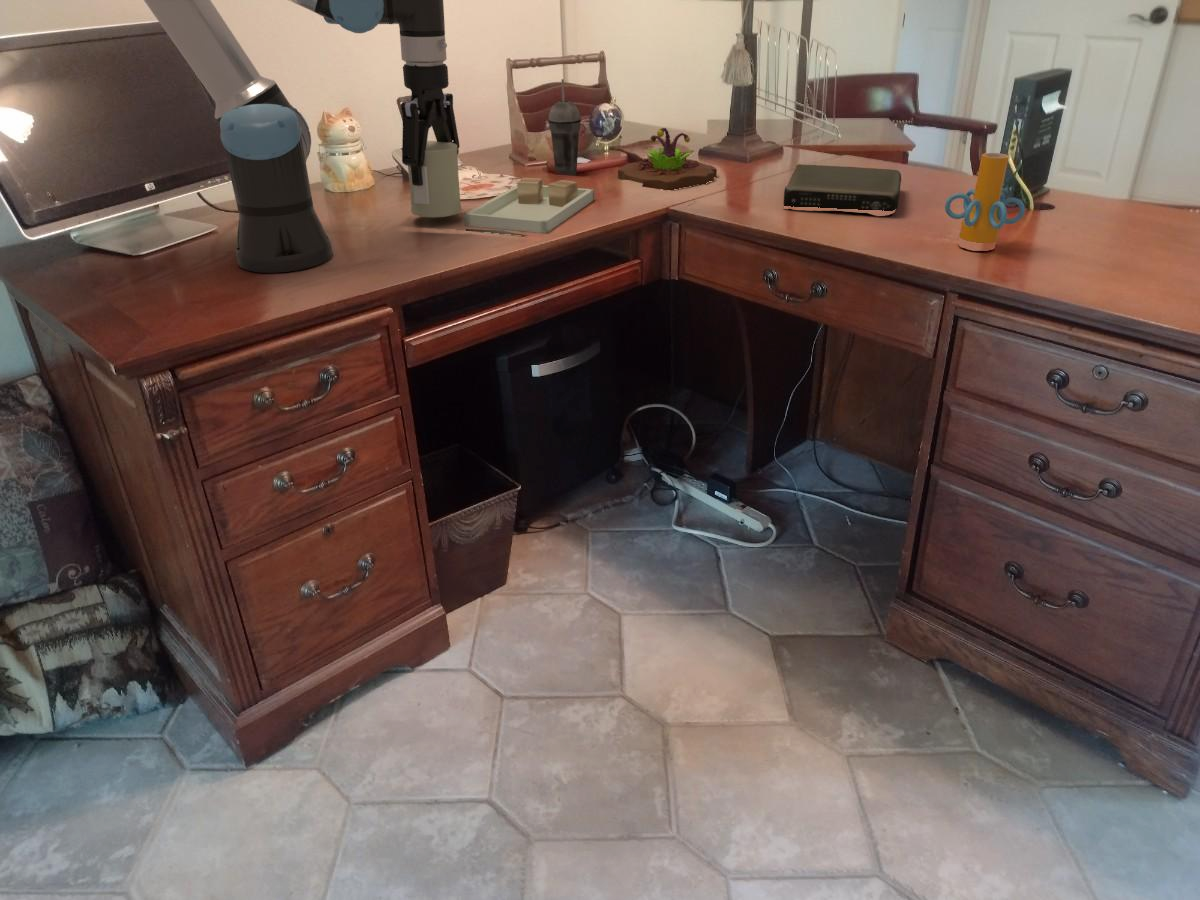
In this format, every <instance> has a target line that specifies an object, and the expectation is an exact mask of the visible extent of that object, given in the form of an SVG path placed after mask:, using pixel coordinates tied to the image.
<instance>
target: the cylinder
mask: <svg viewBox="0 0 1200 900" xmlns="http://www.w3.org/2000/svg"><path fill="white" fill-rule="evenodd" d="M1009 159H1010V156H1009V155H1008V154H1005V153H1001V152H1000V153H998V152H985V153H982V154H981V158H980V164H979V169H978V173H977V178H976V183H975V189H974V188H973V189H969V190H968V191H967V192H966V193H961V192H957V193H954V194H952V195H950V196H949V197H948V198H947V200H946V201H945V204H944V210H945V213H946V214H947V216H948V217H950V218H952V219H955V220H960V219H963V220H962V222H961V226H960V230H959V235H958V238H959V237H960V238H961V239H963V240H966V241H970V242H976V243H993V242H996V241H997V242H998V239H999V234H1000V231H1001V230H1000V229H1001V228H1002V227H1003V226H1004V225H1005V224H1006V225H1011V224H1016V223H1017V222H1019V221H1020V220H1021V219H1022V218H1023V217H1024V215H1025V213H1026V207H1025V204H1024V202H1023V201H1022V200H1021V199H1019V198H1017V197H1007V198H1005V197H1006V196H1005V194H1004V192H1003V185H1004V181H1005V177H1006V171H1007V167H1008V164H1009V163H1008V162H1009ZM971 195H973V197H972V198H971ZM956 199H963V203H962V204H963V205H962V206H963V209H964V212H962V213H960V214H959V213H954V212H953V211H952V210H951V203H953V201H954V200H956ZM1009 203H1012V204H1016V205H1017V206H1018V207H1019V212H1018V214H1017V215H1016V216H1015V217H1014V218H1008V211H1007V207H1006V205H1007V204H1009Z"/></svg>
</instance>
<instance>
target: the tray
mask: <svg viewBox="0 0 1200 900" xmlns="http://www.w3.org/2000/svg"><path fill="white" fill-rule="evenodd" d="M542 185H543V200H542V201H541V202H540V203H539V204H518V187H517V184H516V185H515V186H513V187H511V188H509V189H508V190H505V191H504V192H502V193H500V194H499V195H496V196H495V197H493V198H491V199H489V200H488V201H486V202H484V203H482V204H480V205H478V206H476V207H474V208H473V209H471V210H468V211H467V212H465V213H464V214H463V217H464V226H466V227H467V226H468V227H477V228H479V229H473V228H465V231H466V232H474V231H477V233H484V232H491V233H490V234H494V233H499V234H498V235H504V234H511V235H510V236H514V235H521V236H520V237H524V236H528V235H526V234H522V233H521V234H520V233H517V232H518V231H519V232H526V233H527V232H528V233H529V232H530V233H538V234H547V233H550V232H551V231H553V229H555V228H556V227H557V226H559V225H561V224H562V223H563V222H565V221H566V220H568V219H569V218H571V217H572V216H573V215H575V214H576V213H577V212H579V211H580V210H582V209H584V207H586V206H588V205H589V204H591V203H592V202H593V201H595V189H594V188H582V187H581V188H580V187H578V197H577V198H575V199H574V200H572V201H571V202H569V203H568V204H566V205H564V206H563V207H558V206H553V205H549V186H548V185H544V184H542ZM480 228H488V229H480ZM507 230H509V231H507ZM478 231H479V232H478ZM513 231H517V232H513Z"/></svg>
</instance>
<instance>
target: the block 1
mask: <svg viewBox="0 0 1200 900" xmlns="http://www.w3.org/2000/svg"><path fill="white" fill-rule="evenodd" d="M516 185H517V187H518V204H539V203H540V202H541V201H542V200H543V185H544V184H543V178H535V177H522V178H521V179H519V181H517V182H516Z"/></svg>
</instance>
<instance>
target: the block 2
mask: <svg viewBox="0 0 1200 900" xmlns="http://www.w3.org/2000/svg"><path fill="white" fill-rule="evenodd" d="M578 184H579V183H578V182H577V181H572V180H564V179H560V180H557V181H553V182H551V183H548V184H547V186H549V205H553V206H558V207H563V206H564V205H566V204H568V203H569V202H571V201H572V200H574V199H575V198H577V197H578V188H579V187H578Z"/></svg>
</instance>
